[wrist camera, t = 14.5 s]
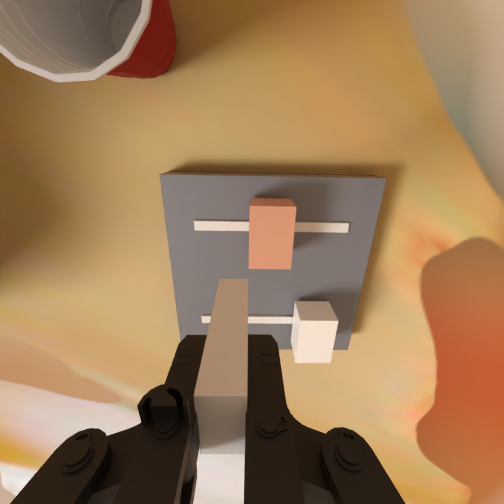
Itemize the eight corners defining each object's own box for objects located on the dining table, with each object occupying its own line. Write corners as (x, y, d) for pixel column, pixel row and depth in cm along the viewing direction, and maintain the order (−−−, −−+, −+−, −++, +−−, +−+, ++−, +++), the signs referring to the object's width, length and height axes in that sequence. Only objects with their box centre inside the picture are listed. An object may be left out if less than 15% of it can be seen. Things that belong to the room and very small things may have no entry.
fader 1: (248, 253, 26) (248, 268, 23) (249, 197, 24) (249, 206, 21) (285, 254, 26) (290, 269, 23) (290, 198, 24) (296, 206, 21)
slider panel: (186, 335, 35) (181, 350, 32) (167, 171, 26) (158, 174, 23) (341, 336, 35) (348, 351, 32) (374, 175, 26) (388, 178, 24)
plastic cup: (51, -23, 20) (-196, -232, 9) (177, -67, 19) (77, -362, 8) (112, 124, 24) (-4, 106, 13) (218, 93, 23) (189, 47, 12)
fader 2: (290, 340, 31) (295, 362, 28) (294, 301, 29) (300, 320, 26) (322, 340, 31) (330, 363, 28) (328, 301, 29) (338, 320, 26)
